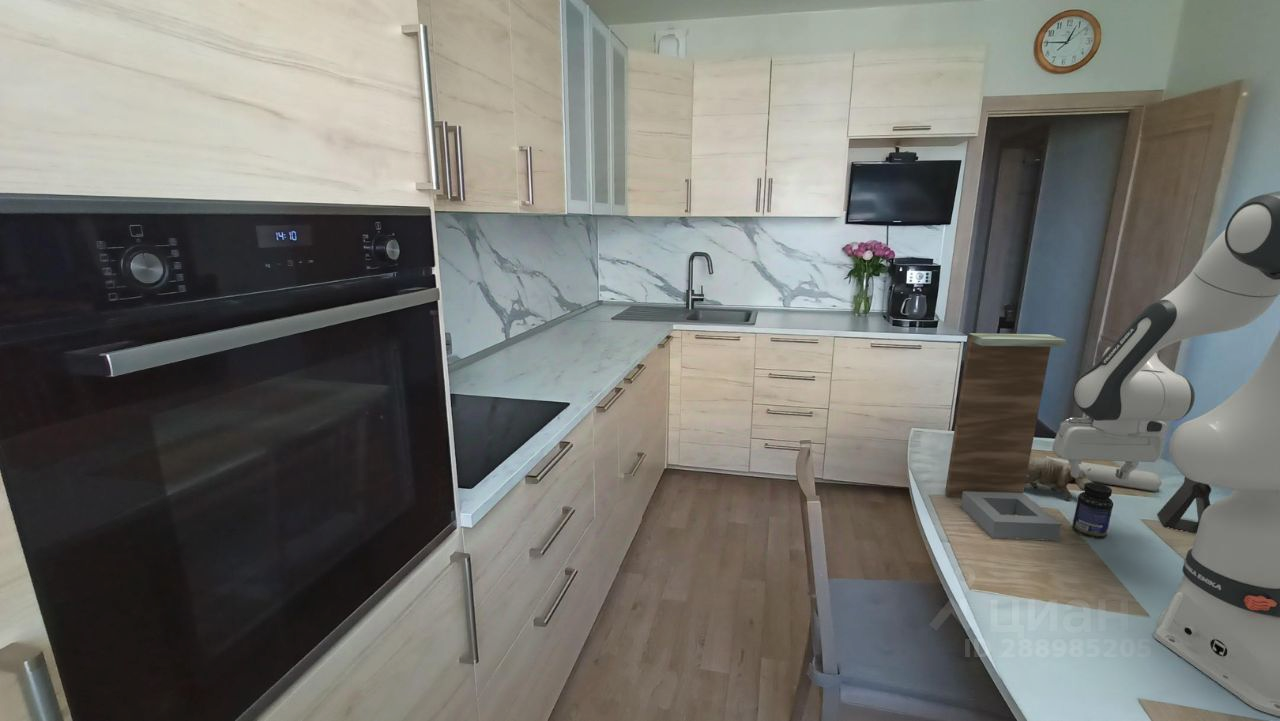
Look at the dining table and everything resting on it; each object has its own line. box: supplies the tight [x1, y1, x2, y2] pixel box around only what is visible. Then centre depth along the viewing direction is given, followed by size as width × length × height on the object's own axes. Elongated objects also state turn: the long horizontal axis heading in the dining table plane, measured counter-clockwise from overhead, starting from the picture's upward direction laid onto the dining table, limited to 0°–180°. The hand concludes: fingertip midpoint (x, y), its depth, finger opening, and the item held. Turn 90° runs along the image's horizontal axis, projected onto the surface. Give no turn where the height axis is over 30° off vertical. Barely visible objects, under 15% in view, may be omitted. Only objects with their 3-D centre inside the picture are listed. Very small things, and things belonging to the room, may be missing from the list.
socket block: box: [960, 491, 1063, 541], centre depth 129 cm, size 14×14×4 cm
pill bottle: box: [1071, 482, 1114, 540], centre depth 124 cm, size 6×6×11 cm
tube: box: [1044, 455, 1162, 492], centre depth 150 cm, size 5×5×25 cm
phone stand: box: [1156, 476, 1212, 534], centre depth 127 cm, size 9×6×12 cm, turn 59°
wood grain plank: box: [944, 332, 1067, 499], centre depth 134 cm, size 6×18×42 cm, turn 87°
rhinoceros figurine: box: [1025, 456, 1094, 502], centre depth 143 cm, size 8×14×15 cm
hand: (1098, 477), depth 123 cm, fingers open, 8 cm apart
